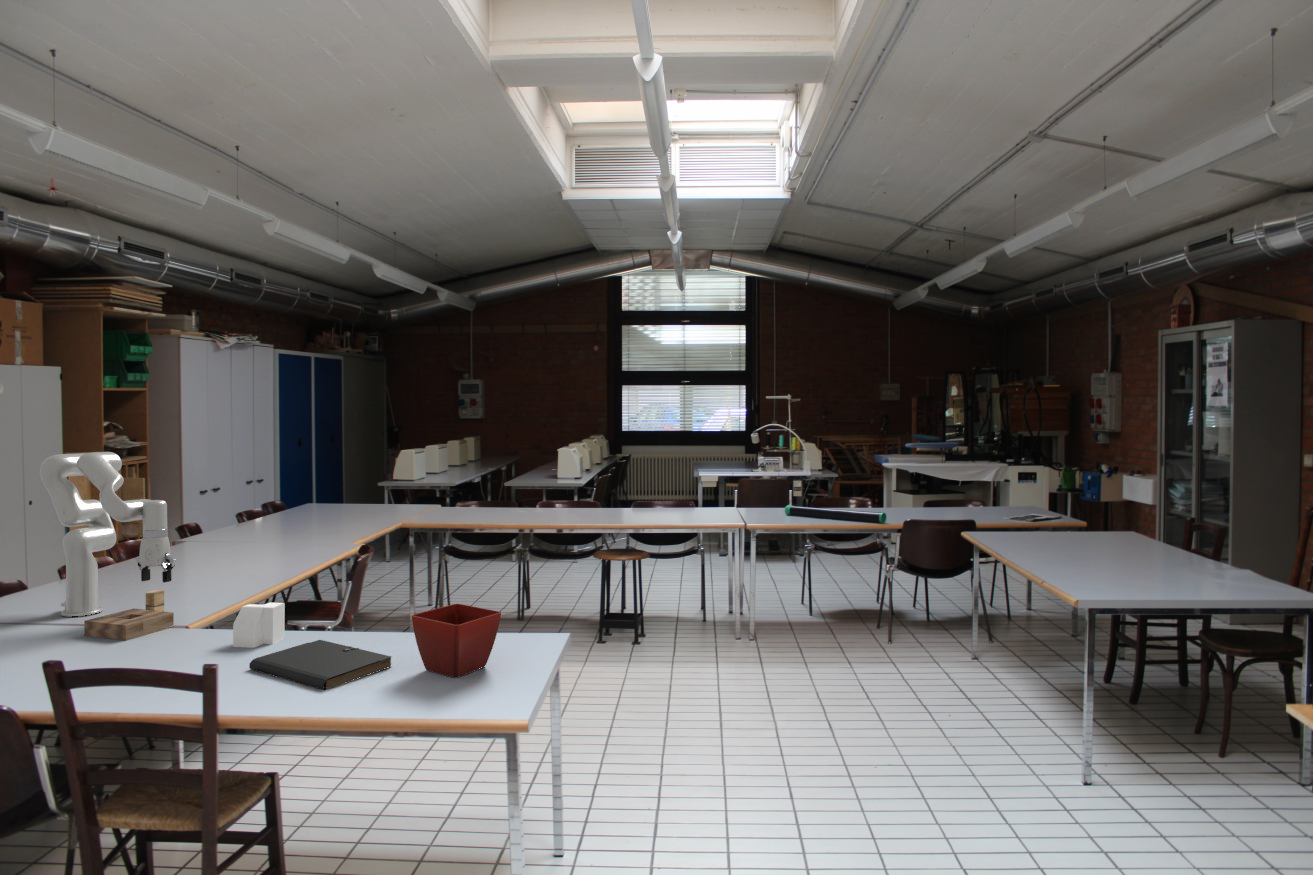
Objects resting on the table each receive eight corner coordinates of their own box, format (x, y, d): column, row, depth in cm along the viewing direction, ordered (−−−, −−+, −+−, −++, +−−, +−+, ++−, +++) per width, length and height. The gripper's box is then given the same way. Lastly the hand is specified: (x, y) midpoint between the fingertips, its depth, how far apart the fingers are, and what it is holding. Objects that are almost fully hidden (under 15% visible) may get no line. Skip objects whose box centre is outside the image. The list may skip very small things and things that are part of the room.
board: (84, 635, 262) (84, 620, 262) (133, 622, 279) (133, 608, 279) (126, 640, 257) (126, 625, 257) (173, 626, 274) (173, 612, 274)
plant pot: (502, 666, 237) (503, 611, 236) (456, 684, 220) (457, 624, 220) (456, 655, 246) (456, 602, 246) (409, 672, 230) (409, 615, 230)
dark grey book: (392, 655, 234) (323, 679, 213) (392, 668, 234) (323, 693, 213) (320, 638, 250) (249, 658, 229) (320, 650, 251) (249, 672, 230)
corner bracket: (284, 638, 262) (284, 602, 262) (264, 648, 251) (264, 611, 251) (254, 636, 263) (254, 601, 263) (233, 646, 252) (233, 609, 252)
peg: (145, 619, 283) (145, 592, 282) (155, 617, 286) (155, 590, 286) (154, 620, 281) (154, 593, 281) (164, 618, 285) (164, 590, 285)
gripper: (127, 535, 282) (128, 582, 282) (165, 536, 277) (166, 584, 278) (145, 532, 289) (146, 578, 289) (183, 533, 284) (184, 580, 285)
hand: (156, 581), depth 283 cm, fingers open, 9 cm apart
